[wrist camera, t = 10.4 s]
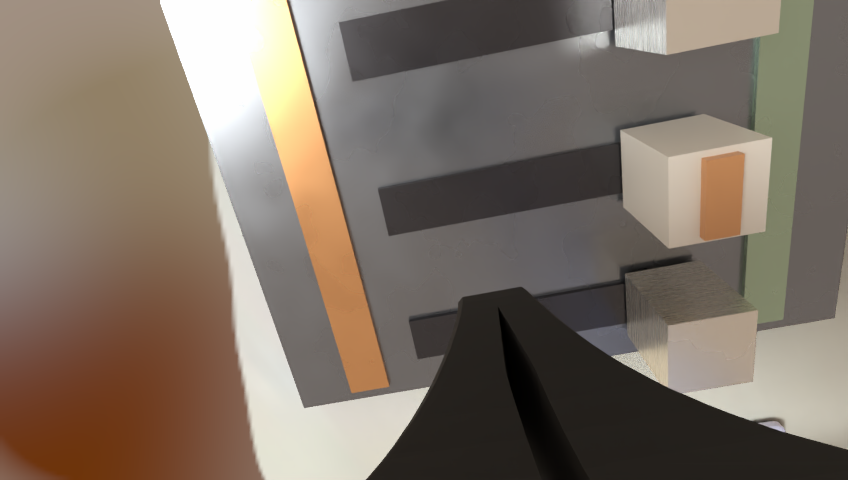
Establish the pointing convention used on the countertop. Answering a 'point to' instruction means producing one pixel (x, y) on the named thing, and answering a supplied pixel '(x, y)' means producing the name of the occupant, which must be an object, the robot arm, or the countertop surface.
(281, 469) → the countertop surface
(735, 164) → the block
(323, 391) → the breaker panel
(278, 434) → the countertop surface
